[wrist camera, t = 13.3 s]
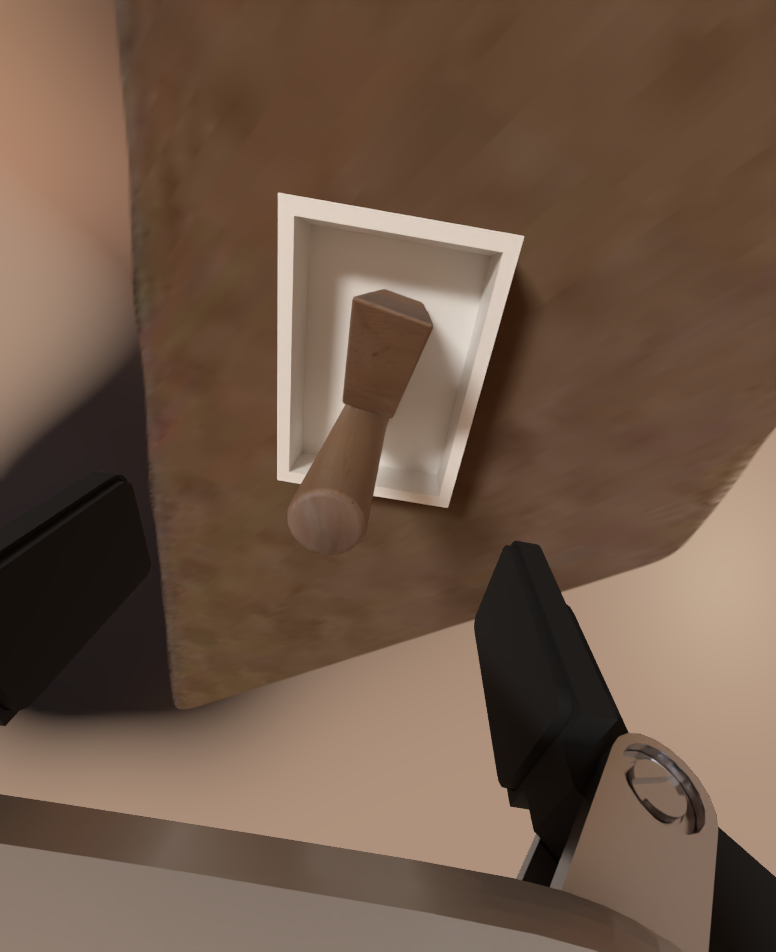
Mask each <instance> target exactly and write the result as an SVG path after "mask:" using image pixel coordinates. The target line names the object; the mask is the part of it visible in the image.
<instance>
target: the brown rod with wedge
mask: <svg viewBox="0 0 776 952" xmlns="http://www.w3.org/2000/svg"><path fill="white" fill-rule="evenodd" d="M432 329H433V323H432V321H431V318H430V316H429V313H428V312H427V311H426V309H425V306H424V304H423V303H422V302H420V301H417V300H414V299H411V298H408V297H406V296H403V295H400V294H397V293H394V292H392V291H389V290H386V289H381V290H378V291H374V292H369V293H366V294H362V295H358V296H355V297H353V300H352V308H351V318H350V328H349V338H348V348H347V358H346V368H345V378H344V388H343V398H342V402H343V403H344V404H345V406H344V408H343V410H342V411H341V413H340V415H339V417H338V419H337V420H336V422H335V424H334V426H333V428H332V429H331V431H330V433H329V435H328V437H327V438H326V440H325V442H324V444H323V445H322V447H321V449H320V451H319V453H318V454H317V456H316V458H315V460H314V462H313V463H312V465H311V467H310V469H309V471H308V472H307V474H306V476H305V478H304V479H303V481H302V483H301V485H300V487H299V488H298V490H297V492H296V494H295V496H294V497H293V499H292V501H291V503H290V506H289V508H288V525H289V527H290V530H291V533H292V534H293V536H294V537H295V538H296V539H297V541H298V542H299V543H301V544H302V545H303V546H305V547H306V548H308V549H310V550H312V551H315V552H317V553H322V554H328V555H331V554H341V553H344V552H346V551H349V550H351V549H352V548H353V547H355V546H356V545H357V544H358V543H360V542H361V540H362V539H363V537H364V535H365V534H366V530H367V525H368V520H369V514H370V509H371V504H372V499H373V494H374V489H375V484H376V478H377V473H378V468H379V463H380V458H381V453H382V447H383V442H384V437H385V432H386V428H387V425H388V422H389V419H391V418H393V416H394V414H395V412H396V410H397V408H398V405H399V403H400V401H401V399H402V396H403V394H404V392H405V390H406V388H407V385H408V383H409V381H410V379H411V376H412V374H413V372H414V370H415V367H416V365H417V363H418V361H419V358H420V356H421V354H422V352H423V349H424V347H425V345H426V343H427V340H428V338H429V336H430V334H431V331H432Z"/></svg>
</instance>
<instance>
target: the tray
mask: <svg viewBox="0 0 776 952" xmlns="http://www.w3.org/2000/svg"><path fill="white" fill-rule="evenodd" d="M523 239H524V236H521V235H515V234H510V233H504V232H498V231H493V230H487V229H481V228H476V227H470V226H464V225H459V224H453V223H447V222H442V221H436V220H430V219H425V218H419V217H413V216H408V215H402V214H396V213H391V212H385V211H380V210H374V209H368V208H363V207H357V206H351V205H346V204H340V203H334V202H329V201H323V200H317V199H312V198H306V197H300V196H295V195H289V194H283V193H278V383H277V480H280V481H287V482H293V483H299V484H301V483H302V481H303V479H304V478H305V476H306V474H307V472H308V471H309V469H310V467H311V465H312V463H313V462H314V460H315V458H316V456H317V454H318V453H319V451H320V449H321V447H322V445H323V444H324V442H325V440H326V438H327V437H328V435H329V433H330V431H331V429H332V428H333V426H334V424H335V422H336V420H337V419H338V417H339V415H340V413H341V411H342V410H343V408H344V406H345V404H344V403H343V402H342V398H343V388H344V378H345V368H346V358H347V348H348V338H349V328H350V318H351V308H352V300H353V297H355V296H358V295H362V294H366V293H369V292H374V291H378V290H381V289H386V290H389V291H392V292H394V293H397V294H400V295H403V296H406V297H408V298H411V299H414V300H417V301H420V302H422V303H423V304H424V306H425V309H426V311H427V312H428V313H429V316H430V318H431V321H432V323H433V329H432V331H431V334H430V336H429V338H428V340H427V343H426V345H425V347H424V349H423V352H422V354H421V356H420V358H419V361H418V363H417V365H416V367H415V370H414V372H413V374H412V376H411V379H410V381H409V383H408V385H407V388H406V390H405V392H404V394H403V396H402V399H401V401H400V403H399V405H398V408H397V410H396V412H395V414H394V416H393V418H391V419H389V422H388V425H387V428H386V432H385V437H384V442H383V447H382V453H381V458H380V463H379V468H378V473H377V478H376V484H375V489H374V494H373V496H377V497H383V498H390V499H396V500H402V501H408V502H414V503H420V504H426V505H432V506H438V507H444V508H448V506H449V503H450V499H451V495H452V492H453V488H454V485H455V481H456V478H457V474H458V471H459V467H460V463H461V460H462V456H463V453H464V449H465V446H466V442H467V439H468V435H469V431H470V428H471V424H472V421H473V417H474V414H475V410H476V407H477V403H478V399H479V396H480V392H481V389H482V385H483V382H484V378H485V375H486V371H487V367H488V364H489V360H490V357H491V353H492V350H493V346H494V342H495V339H496V335H497V332H498V328H499V325H500V321H501V318H502V314H503V310H504V307H505V303H506V300H507V296H508V293H509V289H510V286H511V282H512V278H513V275H514V271H515V268H516V264H517V261H518V257H519V254H520V250H521V246H522V243H523Z"/></svg>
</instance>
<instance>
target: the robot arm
mask: <svg viewBox="0 0 776 952" xmlns="http://www.w3.org/2000/svg"><path fill="white" fill-rule="evenodd" d="M150 566H151V561H150V558H149V553H148V549H147V545H146V540H145V536H144V532H143V528H142V524H141V520H140V515H139V511H138V507H137V503H136V499H135V494H134V490H133V487H132V485H131V484H130V483H128V482H127V479H126V478H125V477H124V476H122V475H119V474H112V473H106V472H101V471H94V472H91V473H89V474H88V475H86V476H84V477H83V478H81V479H79V480H78V481H76V482H75V483H73V484H71V485H69V486H68V487H66V488H64V489H63V490H61V491H59V492H58V493H56V494H55V495H53V496H51V497H50V498H48V499H46V500H45V501H43V502H41V503H40V504H39V505H37V506H35V507H33V508H32V509H30V510H28V511H27V512H25V513H23V514H22V515H20V516H18V517H17V518H15V519H14V520H12V521H10V522H9V523H7V524H5V525H4V526H2V527H0V725H2V726H6V725H7V723H8V722H9V721H10V720H11V719H12V718H13V717H14V716H15V715H16V714H17V712H18V711H19V710H22V709H24V708H26V707H28V706H29V705H31V704H32V703H33V702H34V701H35V700H36V699H37V698H38V696H39V695H40V694H41V693H42V692H43V691H44V690H45V689H46V688H47V686H48V685H49V684H50V683H51V682H52V681H53V680H54V679H55V678H56V676H57V675H58V674H59V673H60V672H61V671H62V670H63V669H64V668H65V666H66V665H67V664H68V663H69V662H70V661H71V660H72V659H73V658H74V656H75V655H76V654H77V653H78V652H79V651H80V650H81V649H82V648H83V646H84V645H85V644H86V643H87V642H88V641H89V640H90V639H91V638H92V636H93V635H94V634H95V633H96V632H97V631H98V630H99V629H100V627H101V626H102V625H103V624H104V623H105V622H106V621H107V620H108V618H109V617H110V616H111V615H112V614H113V613H114V612H115V611H116V610H117V608H118V607H119V606H120V605H121V604H122V603H123V602H124V601H125V599H126V598H127V597H128V596H129V595H130V594H131V593H132V592H133V591H134V590H135V588H136V587H137V586H138V585H139V584H140V583H141V582H142V581H143V579H144V578H145V577H146V576H147V574H148V573H149V570H150ZM474 630H475V637H476V643H477V649H478V656H479V663H480V668H481V675H482V682H483V688H484V694H485V700H486V707H487V713H488V720H489V726H490V732H491V739H492V745H493V751H494V758H495V764H496V770H497V776H498V780H499V783H500V785H501V786H502V787H504V788H507V791H508V797H509V803H510V806H511V807H517V808H523V809H529V810H530V815H531V820H532V824H533V829H534V831H535V833H536V835H535V837H534V840H533V842H532V844H531V847H530V849H529V851H528V853H527V855H526V858H525V860H524V862H523V865H522V867H521V869H520V871H519V874H518V876H517V878H516V879H514V878H509V877H503V876H498V875H492V874H487V873H481V872H476V871H471V870H465V869H459V868H455V867H449V866H444V865H438V864H433V863H428V862H422V861H417V860H411V859H405V858H398V857H393V856H387V855H380V854H374V853H368V852H362V851H356V850H350V849H343V848H337V847H331V846H325V845H319V844H313V843H307V842H301V841H294V840H288V839H282V838H276V837H269V836H264V835H257V834H251V833H245V832H238V831H232V830H226V829H219V828H213V827H207V826H200V825H194V824H187V823H181V822H175V821H169V820H162V819H156V818H150V817H143V816H137V815H130V814H124V813H118V812H111V811H105V810H98V809H92V808H86V807H78V806H72V805H67V804H60V803H54V802H47V801H40V800H33V799H27V798H21V797H14V796H7V795H1V794H0V952H776V877H775V876H774V875H773V874H771V873H770V872H769V871H768V870H767V869H766V868H765V867H763V866H762V865H761V864H760V863H759V862H758V861H757V860H755V859H754V858H753V857H752V856H751V855H750V854H749V853H747V852H746V851H745V850H744V849H743V848H742V847H741V846H739V845H738V844H737V843H736V842H735V841H734V840H733V839H732V838H730V837H729V836H728V835H727V834H726V833H725V832H723V831H722V830H721V829H720V828H719V827H718V823H717V814H716V812H715V809H714V807H713V804H712V802H711V799H710V796H709V795H708V793H707V792H706V790H705V788H704V787H703V785H702V784H701V782H700V780H699V779H698V777H697V776H696V775H695V774H694V773H693V771H692V770H691V769H690V768H689V767H688V766H687V764H686V763H685V762H684V761H683V760H682V759H680V758H679V757H678V756H677V755H676V754H675V753H674V752H673V751H671V750H670V749H669V748H667V747H666V746H664V745H663V744H661V743H660V742H658V741H656V740H655V739H652V738H650V737H647V736H645V735H642V734H635V733H628V731H627V728H626V726H625V724H624V722H623V719H622V717H621V715H620V713H619V711H618V709H617V707H616V704H615V702H614V700H613V698H612V695H611V693H610V691H609V689H608V687H607V685H606V682H605V680H604V678H603V676H602V674H601V672H600V669H599V667H598V665H597V663H596V661H595V659H594V656H593V654H592V652H591V650H590V647H589V645H588V644H587V641H586V639H585V637H584V634H583V632H582V630H581V628H580V626H579V623H578V621H577V619H576V617H575V615H574V613H573V611H572V610H571V608H570V607H569V606H568V605H567V604H566V603H565V601H564V599H563V596H562V594H561V592H560V589H559V587H558V585H557V583H556V580H555V578H554V576H553V574H552V571H551V569H550V567H549V565H548V563H547V560H546V558H545V556H544V554H543V551H542V549H541V547H540V546H539V545H537V544H532V543H526V542H520V541H514V542H513V543H512V544H511V546H508V545H506V546H505V547H504V548H503V550H502V553H501V555H500V558H499V560H498V562H497V565H496V567H495V570H494V572H493V575H492V577H491V580H490V582H489V585H488V587H487V590H486V592H485V594H484V597H483V599H482V602H481V604H480V607H479V609H478V612H477V614H476V617H475V623H474Z"/></svg>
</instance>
